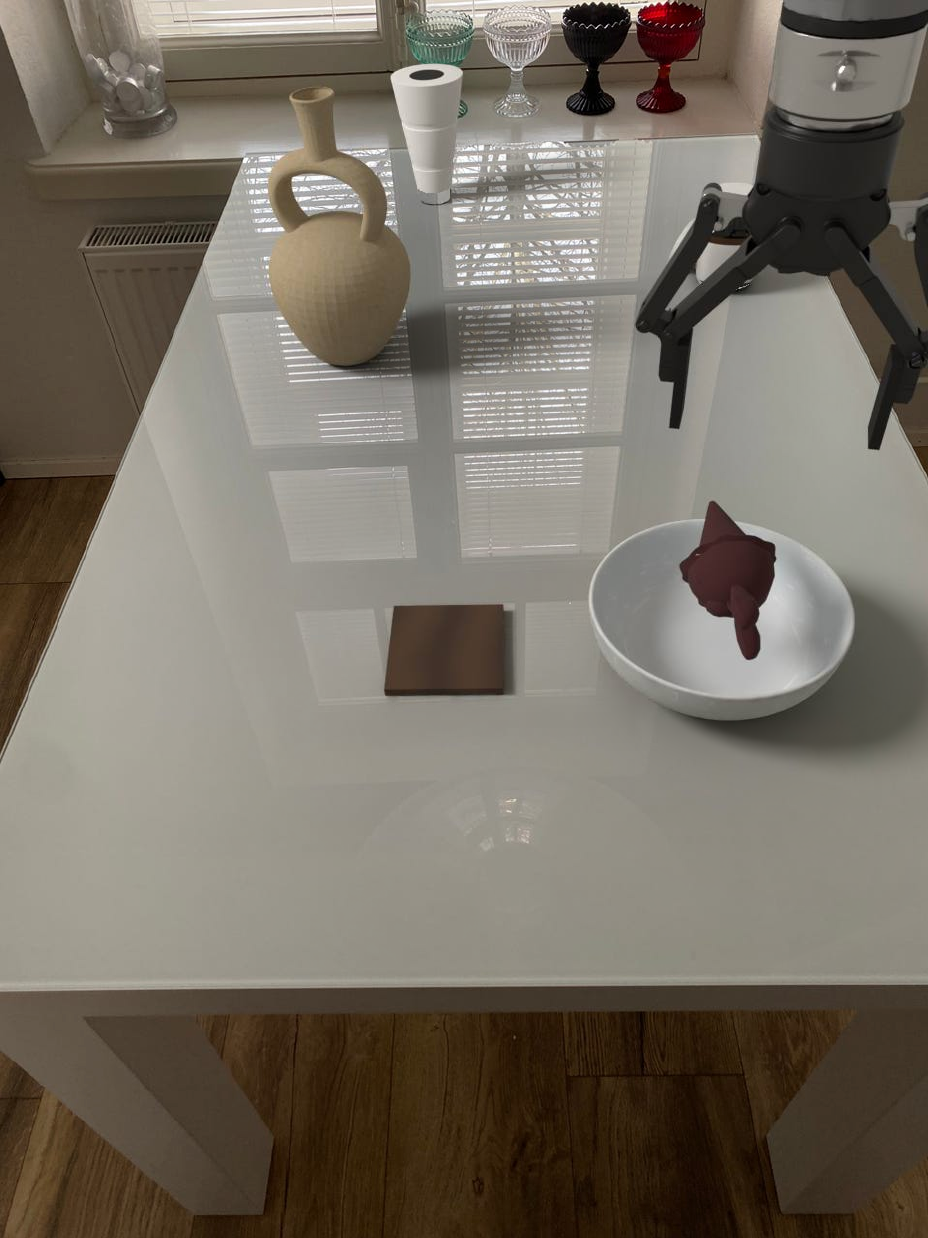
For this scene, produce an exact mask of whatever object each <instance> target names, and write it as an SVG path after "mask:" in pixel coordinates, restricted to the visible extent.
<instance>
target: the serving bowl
mask: <svg viewBox="0 0 928 1238" xmlns="http://www.w3.org/2000/svg"><path fill="white" fill-rule="evenodd" d="M733 521H734V522H735V523H736V524H737V525H738V526H739V528H740V529H741V530H742V531H743V532H744V533H745V534H746V535H753V536H757V537H759V538H761V539H762V540H764V541H768V542H772V543H773V544H775V547H776V551H775V556H776V562H775V563H774V569H775V578H774V581H773V584H772V587H771V589H770V592H769V595H768V597H767V600H766V601H765V602H764V604H763V605H762V606H761V607H760V608H759V613H760V614H759V618H758V621H757V623H756V626H757V629H758V631H759V634H760V640H761V649H760V651H759V654H758V656H757V658H755V659H753V660H746V659H745V658H744V656H743V655H742V653H741V650H740V648H739V645H738V642H737V638H736V632H735V627H734V618H729V617H716V616H713V615H711V614H710V613H709V612H707V610H706V608H705V607H702V606H701V605H699V604H698V599H697V598H696V597H695V595H694V594H693V593H692V591H691V588H690V586H689V584H688V583H687V582H685V581H684V580H683V579H682V573H681V571H680V568H679V565H680V563H681V562H682V561H683V560H685V559H686V558H687V557H689V555H690V554H691V553H692V552H693V551H694V550H695V549H696V548H697V547H699V544H700V540H701V535H702V531H703V526H704V522H705V518H694V519H684V520H683V519H682V520H676V521H670V522H666V523H665V522H664V523H662V524H661V523H660V524H658V525H655V526H652V527H649V528H646V529H644V530H642V531H639V532H637V533H635V534H633V535H631V536H629V537H628V538H626V539H624V540H623V541H622V542H620V543H618V545H616V546H614V547H613V548H612V549H611V550H610V551H609V552H608V553H607V554H606V556H605V557H604V558H603V559H602V560H601V562H600V563H599V564H598V567H597V568H596V570H595V571H594V573H593V576H592V578H591V581H590V584H589V587H588V597H587V598H588V599H587V600H588V611H589V618H590V622H591V627H592V631H593V635H594V636H595V640H596V643H597V644H598V646H599V649H600V651H601V653H602V655H603V656H604V659H606V661H607V663H608V664H609V665H610V666H611V668H612V669H613V671H615V673H616V674H617V675H618V676H619V677H620V678H621V679H622V680H623V682H626V684H627V685H629V687H631V688H633V690H635V691H636V692H638V693H639V694H641V695H642V696H643V697H645V698H647V699H648V700H651V701H652V702H654V703H656V704H657V705H659V706H661V707H664V708H666V709H668V710H672V711H674V712H677V713H679V714H683V715H686V716H690V717H694V718H700V719H706V720H715V721H744V720H752V719H758V718H763V717H768V716H771V715H774V714H778V713H780V712H782V711H785V710H788V709H790V708H792V707H795V706H796V705H798V704H800V703H801V702H803V701H805V700H807V699H808V698H810V697H811V696H812V695H813V694H815V693H816V692H817V691H818V690H820V689H821V687H823V686H824V685H825V684H826V683H827V682H828V681H829V679H831V677H832V676H833V675H834V674H835V672H836V671H837V670H838V668H839V667H840V665H841V664H842V662H843V660H844V659H845V657H846V656H847V654H848V652H849V650H850V648H851V645H852V642H853V639H854V636H855V635H854V634H855V629H856V613H855V608H854V604H853V599H852V598H851V595H850V593H849V590H848V589H847V586H846V585H845V583H844V582H843V580H842V579H841V577H840V576H839V575H838V574H837V572H836V571H835V570H834V568H833V567H832V566H830V565H829V564H828V562H826V561H825V560H824V559H823V558H822V557H821V556H819V555H818V554H817V553H815V551H813V550H811V549H810V548H808V547H807V546H805V545H804V544H802V543H801V542H799V541H797V540H794V539H793V538H791V537H789V536H786V535H784V534H782V533H780V532H777V531H775V530H772V529H769V528H766V527H763V526H759V525H757V524H753V523H749V522H744V521H738V520H733Z"/></svg>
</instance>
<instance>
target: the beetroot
mask: <svg viewBox="0 0 928 1238" xmlns="http://www.w3.org/2000/svg"><path fill="white" fill-rule="evenodd" d="M704 519H705V522H704V526H703V531H702V535H701V540H700V544H699V547H697V548H696V549H695V550H694V551H693V552H692V553H691V554H690V555H689V557H687V558H686V559H685V560H683V561H682V562H681V563H680V565H679V568H680V571H681V573H682V579H683V580H684V581H685V582H687V583H688V584H689V586H690V588H691V591H692V593H693V594H694V595H695V597H696V598H697V599H698V604H699V605H701V606H702V607H705V608H706V610H707V612H709V613H710V614H711V615H713V616H716V617H729V618H734V627H735V632H736V638H737V642H738V645H739V648H740V650H741V653H742V655H743V656H744V658H745V659H746V660H753V659H755V658H757V656H758V654H759V651H760V649H761V640H760V634H759V631H758V629H757V626H756V623H757V621H758V618H759V614H760V613H759V608H760V607H761V606H762V605H763V604H764V602H765V601H766V600H767V597H768V595H769V592H770V589H771V587H772V584H773V581H774V578H775V569H774V563H775V562H776V556H775V551H776V547H775V544H773V543H772V542H768V541H764V540H762V539H761V538H759V537H757V536H753V535H746V534H745V533H744V532H743V531H742V530H741V529H740V528H739V526H738V525H737V524H736V523H735V522H734V521H735V520H733V519H732V518H731V517H730V516H729V514H728V513H727V512H726V511H725V510H724V509H723V508H722V507H721V506H720V505H719V503H717V502H716V501H715V500H710V501H709V502H708V504H707V509H706V513H705V518H704Z"/></svg>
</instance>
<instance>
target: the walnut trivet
mask: <svg viewBox="0 0 928 1238" xmlns="http://www.w3.org/2000/svg"><path fill="white" fill-rule="evenodd" d="M504 605H505V604H503V603H494V604H491V603H490V604H489V603H488V604H486V603H485V604H483V603H482V604H428V605H427V604H425V605H424V604H422V605H421V604H419V605H418V604H417V605H393V609H392V618H391V626H390V635H389V643H388V650H387V652H388V653H387V660H386V668H385V669H386V670H385V677H384V685H383V686H384V687H383V691H384V692H383V693H384V696H449V695H450V696H451V695H452V696H453V695H454V696H455V695H456V696H457V695H458V696H459V695H460V696H461V695H464V696H465V695H467V696H468V695H504V694H505V692H504V691H505V690H504V689H505V688H504V684H505V683H504V682H505V678H504V677H505V676H504V675H505V674H504V673H505V671H504V669H505V667H504V665H505V664H504V663H505V662H504V661H505V660H504V659H505V657H504V656H505V655H504V654H505V653H504V651H505V650H504V649H505V646H504V645H505V639H504V637H505V636H504V634H505V633H504V632H505V631H504V630H505V627H504V626H505V620H504V619H505V617H504V615H505V610H504V608H505V607H504Z"/></svg>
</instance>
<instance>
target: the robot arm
mask: <svg viewBox="0 0 928 1238" xmlns="http://www.w3.org/2000/svg"><path fill="white" fill-rule="evenodd" d="M777 23H778V24H777V30H776V37H775V45H774V52H773V58H772V66H771V72H770V80H769V89H768V94H767V98H768V99H769V100H770V102H771V103H772V106H771V107H770V109H769V110H768V111H767V112H766V113H765V114H764V119H763V125H762V131H761V138H760V146H759V151H758V159H757V166H756V172H755V179H754V182H753V183H754V184H753V185H754V186H753V187H752V189H751V191H750V192H749V193H748V195H741V194H735V193H729V192H723V191H722V188H721V186H720V185H719V184H720V183H717V182H709V183H707V184H706V185H705V186H704V187H703V189H702V191H701V196H700V201H699V203H698V207H697V211H696V215H695V217H696V219H695V221H694V223H693V224H692V226H691V227H690V229H689V230H688V232H687V234H686V235H685V237H684V238H683V240H682V241H681V243H680V245H679V246H678V248H677V249H676V251H675V252H674V254H673V256H672V257H671V259H670V260H669V259H668V260H669V262H668V261H667V264H666V265H665V267H664V268H663V270H662V271H661V273H660V275H659V276H658V278H657V279H656V280H655V283H654V284H653V286H652V287H651V289H650V290H649V292H648V294H647V295H646V297H645V298H644V299H643V301H642V303H641V305H640V307H639V311H638V314H637V317H636V320H635V323H634V326H635V330H636V331H637V332H638V333H641V334H652V335H655V336H656V337H657V338H658V339H659V340H660V351H659V363H658V365H659V366H658V379H659V381H660V382H663V383H672V384H673V385H672V394H671V403H670V414H669V423H668V429H673V430H674V429H675V430H680V429H681V428H680V427H681V424H682V420H683V416H684V415H683V414H684V410H685V401H686V395H687V386H688V377H689V369H690V368H689V367H690V360H691V352H692V342H693V334H694V327H695V326H697V325H698V324H699V323H700V322H701V321H702V320H703V319H705V318H706V317H707V316H708V315H709V314H710V313H712V312H713V311H714V310H715V309H716V308H717V307H719V306H720V305H721V304H722V303H723V302H724V301H725V300H727V299H728V298H729V297H730V296H731V295H732V294H734V293H735V292H736V291H735V290H736V289H738V288H739V287H740V286H741V285H742V284H743V283H744V282H746V281H747V280H751V279H752V278H753V279H754V278H755V277H756V276H758V275H759V274H760V273H761V272H762V271H763V270H764V269H765V268H767V267H768V266H770V267H771V268H773V269H775V270H777V274H784V275H785V274H786V275H793V274H798V273H807V274H811V275H814V276H817V277H829V278H830V277H831V274H833V273H837V272H840V271H841V270H843V271H844V272H845V273H846V275H847V277H848V278H849V280H850V282H851V283H852V284H853V286H854V287H855V288H858V289H859V291H860V292H861V294H862V296H863V297H864V299H865V300H866V301H867V303H868V305H869V306H870V308H871V309H872V310H873V312H874V314H875V315H876V316H877V319H878V320H879V321H880V323H881V324H882V326H883V327H884V329H885V330H886V332H887V334H888V335H889V336H890V337H891V339H892V341H893V342H894V343H891V344H890V346H889V350H888V353H887V357H886V361H885V364H884V368H883V371H882V375H881V378H880V382H879V385H878V389H877V393H876V397H875V400H874V403H873V407H872V411H871V414H870V418H869V421H868V424H867V450H873V451H880V450H881V446H882V443H883V439H884V436H885V434H886V430H887V426H888V423H889V419H890V416H891V412H892V409H893V407H894V404H899V405H900V404H902V405H908V404H909V403H910V402H911V400H912V399H913V397H914V394H915V390H916V387H917V385H918V381H919V377H920V376H921V375H920V374H921V371H922V370H923V369H925V368H926V367H927V365H928V329H927V330H923V328H922V326H921V325H920V324H919V322H918V320H917V319H916V317H915V316H914V314H913V313H912V311H911V310H910V308H909V307H908V305H907V303H906V302H905V300H904V298H903V297H902V295H901V294H900V293H899V291H898V289H897V287H896V286H895V284H894V283H893V281H892V280H891V278H890V276H889V275H888V274H887V272H886V271H885V269H884V267H883V266H882V264H881V263H880V261H879V260H878V258H877V255H876V252H875V251H874V249H873V247H872V246H871V244H872V243H873V242H874V241H875V240H876V239H877V238H878V237H879V236H880V235H881V234H882V233H884V231H885V230H886V229H888V226H894V227H896V228H897V229H898V232H899V237H900V238H901V240H903V241H904V242H907V243H909V242H910V243H911V242H912V244H913V245H912V246H913V255H914V260H915V265H916V269H917V273H918V275H919V279H920V284H921V287H922V291H923V295H924V299H925V303H926V307H927V308H928V191H926V192H923V193H921V194H920V195H919V196H918V198H917V199H916V200H915V199H914V200H902V201H901V200H899V201H898V200H897V201H890V197H889V188H890V184H891V181H892V177H893V172H894V168H895V164H896V160H897V156H898V151H899V148H900V145H901V144H900V143H901V139H902V135H903V131H904V128H905V124H906V123H905V122H906V119H905V117H904V115H903V114H902V111H901V110H902V109H904V108H906V106H907V105H908V104H909V103H910V101H911V97H912V93H913V89H914V85H915V81H916V76H917V72H918V68H919V65H920V60H921V56H922V52H923V47H924V43H925V39H926V36H927V35H926V34H927V31H928V0H782V4H781V11H780V17H779V18H778V22H777ZM737 217H742V220H743V222H744V224H745V226H746V228H747V229H748V231H749V233H750V236H749V237H748V238H747V239H746V240H745V241H744V242H743V243H742V244H741V246H740V247H739V249H738V250H737V251H736V252H735V253H734V254H733V255H732V256H731V257H729V258H728V259H727V260H726V261H725V262H724V263H723V264H722V265H721V266H720V267H719V268H717V269H716V270H715V271H714V272H713V273H712V274H711V275H710V276H709V277H708V278H706V279H705V280H704V281H703V282H702V283H701V284H700V285H699V284H698V286H696V287H695V288H694V289H693V290H692V291H691V292H689V293H688V295H687V296H685V297H684V299H682V300H681V301H680V302H679V303H678V304H676V306H675V307H673V308H671V307H669V309H668V310H667V307H668V306H669V304H670V303H671V301H672V300H673V298H675V296H676V294H677V292H678V291H679V289H680V288H681V286H683V283H684V282H685V280H686V279H687V277H688V276H689V275H690V273H691V271H692V270H693V268H694V267H695V266H696V262H697V261H698V259H699V258H700V256H701V254H702V253H703V251H704V250H705V248H706V247H707V245H708V243H709V241H710V238H711V236H712V233H713V231H722V230H724V229H725V228H726V227H727V226H728V224H729V222H730V221H731V220H732V219H734V218H737Z"/></svg>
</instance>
